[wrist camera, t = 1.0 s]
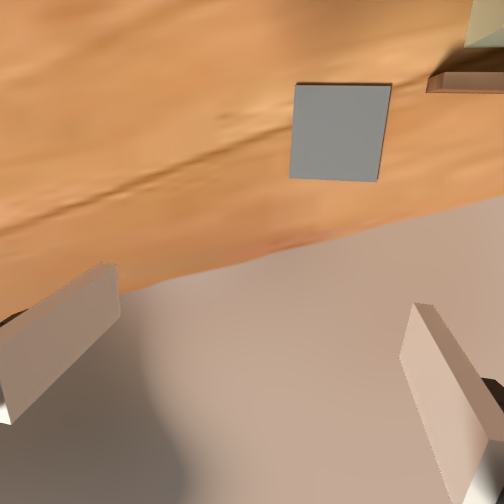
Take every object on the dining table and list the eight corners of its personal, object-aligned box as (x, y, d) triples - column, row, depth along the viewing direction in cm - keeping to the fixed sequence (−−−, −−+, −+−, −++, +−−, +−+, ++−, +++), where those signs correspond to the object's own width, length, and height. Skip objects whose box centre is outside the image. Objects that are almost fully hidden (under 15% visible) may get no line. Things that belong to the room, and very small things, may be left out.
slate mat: (295, 85, 34) (295, 85, 34) (389, 86, 33) (391, 86, 32) (289, 177, 37) (289, 178, 37) (375, 181, 36) (376, 182, 36)
